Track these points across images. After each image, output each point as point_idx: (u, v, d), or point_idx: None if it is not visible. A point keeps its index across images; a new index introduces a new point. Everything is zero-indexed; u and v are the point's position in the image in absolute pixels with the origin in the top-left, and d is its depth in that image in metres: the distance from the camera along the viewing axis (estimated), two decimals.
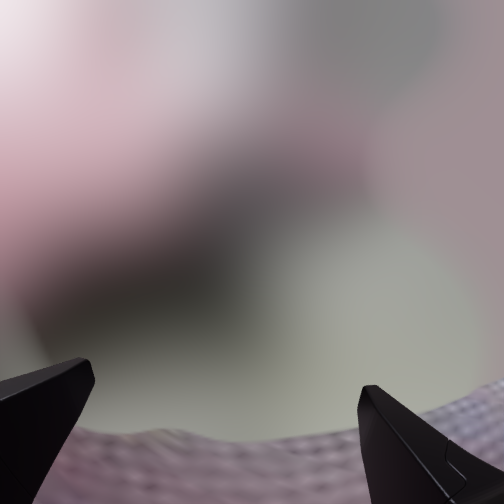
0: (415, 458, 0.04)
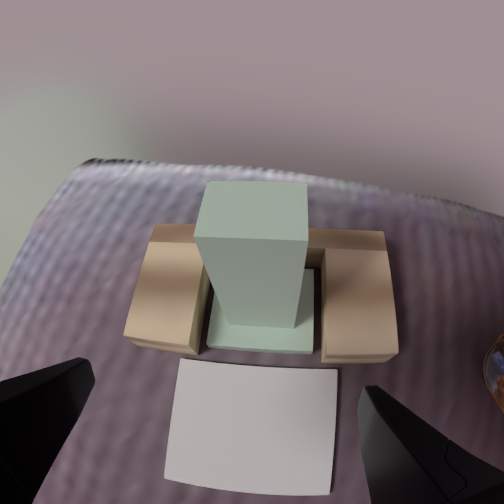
0: (415, 458, 0.04)
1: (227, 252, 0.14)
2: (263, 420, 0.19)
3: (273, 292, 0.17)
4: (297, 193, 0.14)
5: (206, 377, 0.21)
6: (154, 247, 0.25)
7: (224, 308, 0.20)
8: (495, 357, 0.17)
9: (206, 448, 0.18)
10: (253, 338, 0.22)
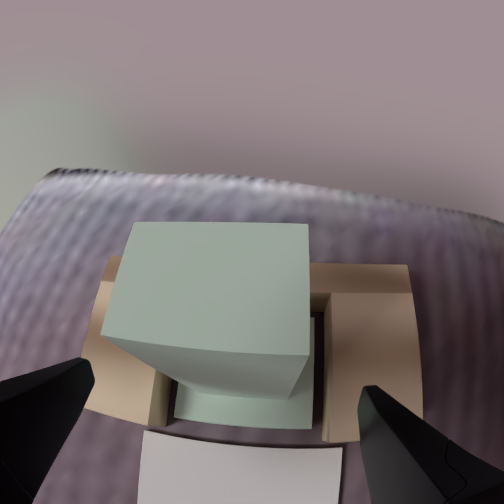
0: (415, 458, 0.04)
1: (165, 354, 0.07)
2: None
3: (254, 385, 0.11)
4: (290, 248, 0.08)
5: (176, 455, 0.14)
6: (106, 289, 0.18)
7: (189, 386, 0.13)
8: None
9: None
10: (233, 412, 0.15)
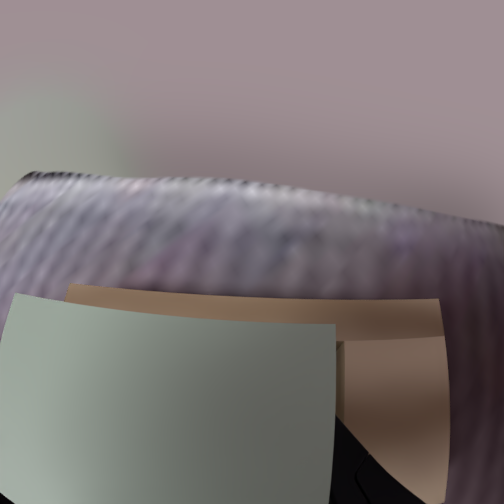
0: None
1: None
2: None
3: None
4: (293, 390, 0.03)
5: None
6: None
7: None
8: None
9: None
10: None
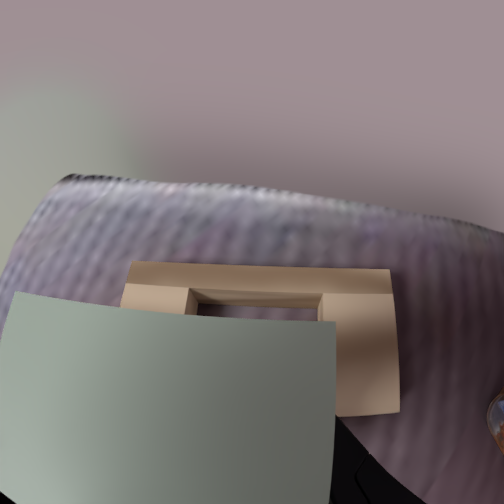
0: None
1: None
2: None
3: None
4: (293, 387, 0.03)
5: None
6: (131, 290, 0.22)
7: None
8: (501, 404, 0.14)
9: None
10: None
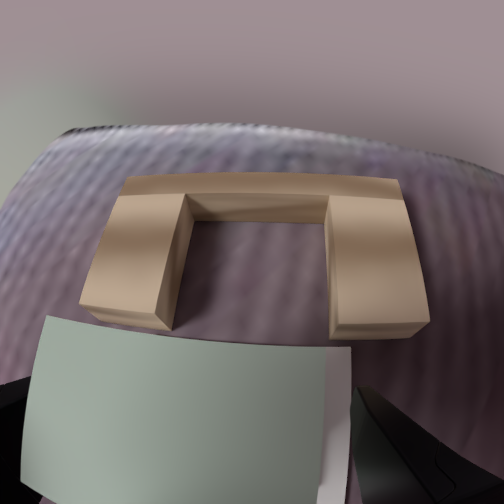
0: (404, 460, 0.04)
1: None
2: None
3: None
4: (291, 399, 0.04)
5: None
6: (123, 201, 0.20)
7: None
8: None
9: None
10: None
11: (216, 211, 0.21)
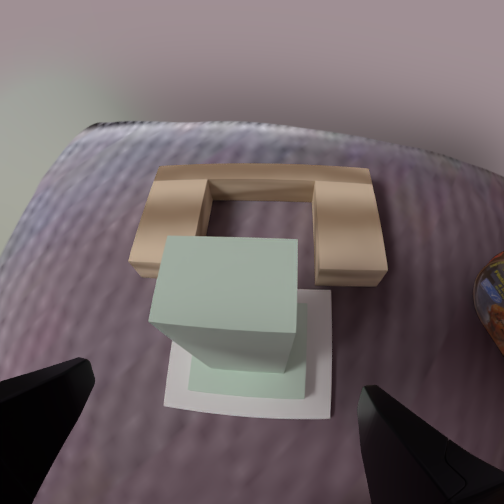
0: (415, 458, 0.04)
1: (194, 334, 0.11)
2: None
3: (257, 358, 0.14)
4: (284, 257, 0.11)
5: None
6: (158, 185, 0.26)
7: (203, 361, 0.17)
8: (484, 285, 0.20)
9: None
10: (238, 384, 0.19)
11: (230, 192, 0.28)
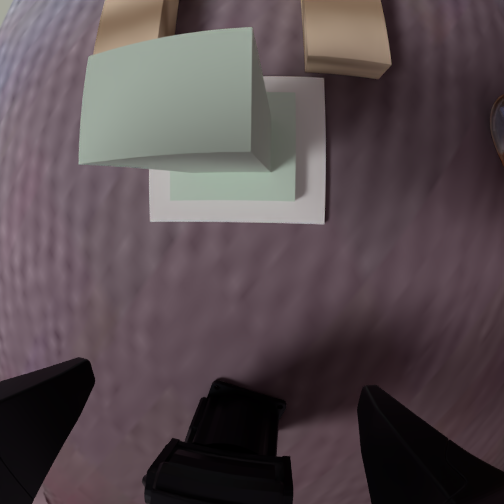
0: (415, 458, 0.04)
1: (136, 161, 0.08)
2: None
3: None
4: (233, 52, 0.06)
5: None
6: None
7: None
8: (503, 112, 0.14)
9: None
10: (222, 187, 0.19)
11: None
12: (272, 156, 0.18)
